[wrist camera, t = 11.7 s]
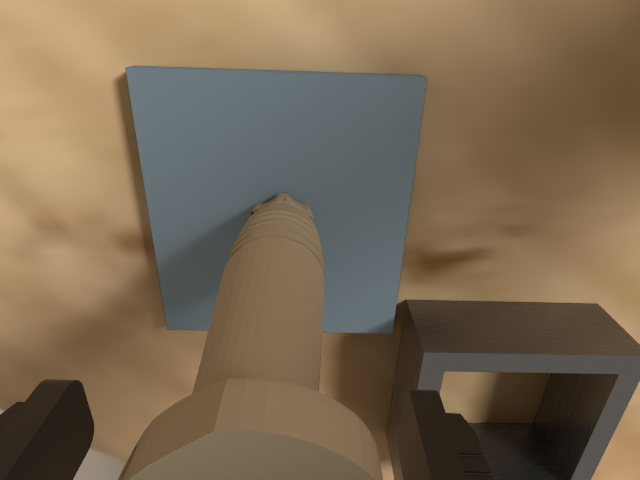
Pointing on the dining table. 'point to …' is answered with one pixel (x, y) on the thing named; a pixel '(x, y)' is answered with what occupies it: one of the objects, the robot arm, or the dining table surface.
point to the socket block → (525, 357)
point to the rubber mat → (278, 178)
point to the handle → (262, 373)
